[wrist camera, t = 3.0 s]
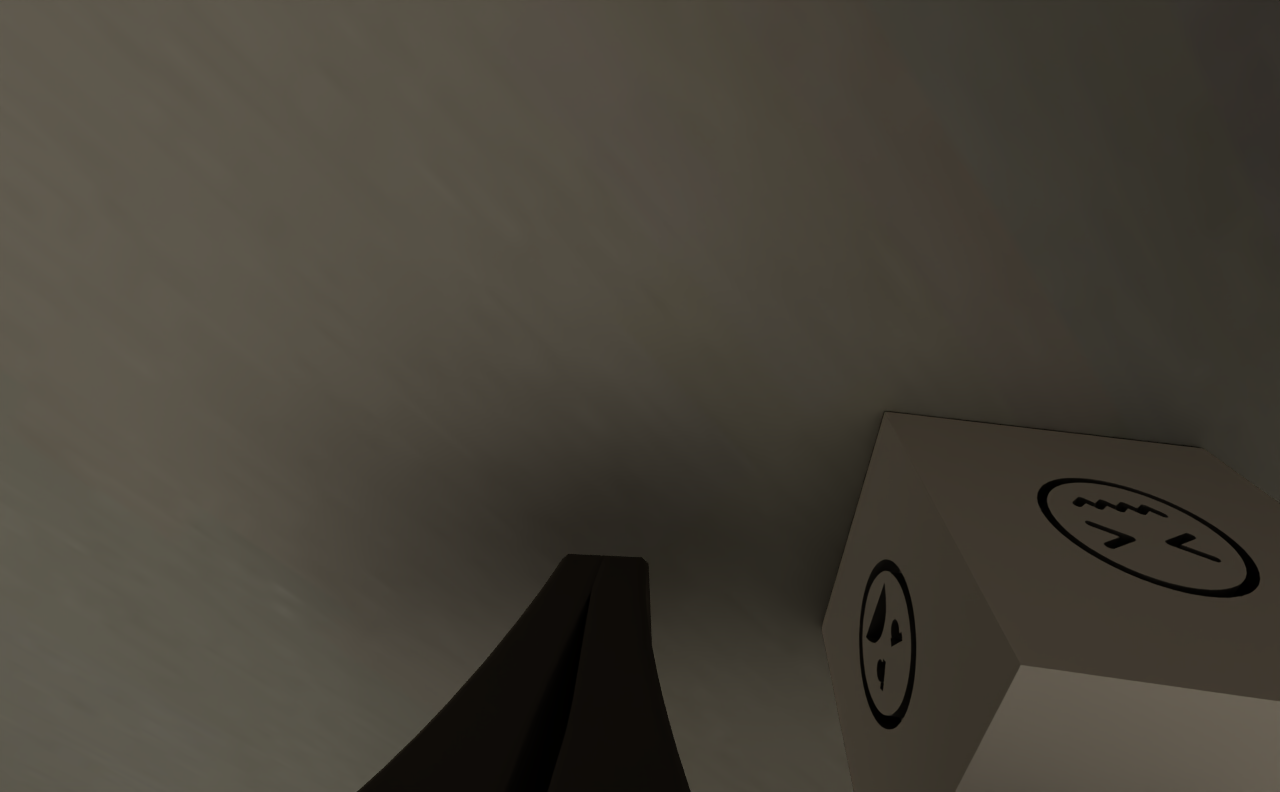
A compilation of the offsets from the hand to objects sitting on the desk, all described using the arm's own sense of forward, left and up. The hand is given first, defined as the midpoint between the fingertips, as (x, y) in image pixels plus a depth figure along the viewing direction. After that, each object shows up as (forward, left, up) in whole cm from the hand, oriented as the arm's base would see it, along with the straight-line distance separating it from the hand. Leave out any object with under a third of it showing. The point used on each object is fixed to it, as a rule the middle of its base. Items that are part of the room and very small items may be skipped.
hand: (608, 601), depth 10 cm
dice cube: (0, -7, -2) cm, 7 cm away
